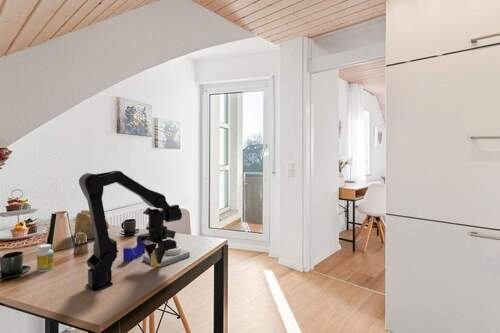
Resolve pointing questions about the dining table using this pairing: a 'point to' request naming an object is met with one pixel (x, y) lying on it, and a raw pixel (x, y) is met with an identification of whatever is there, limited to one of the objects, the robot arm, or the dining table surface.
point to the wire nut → (154, 260)
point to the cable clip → (133, 252)
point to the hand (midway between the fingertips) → (156, 262)
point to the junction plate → (170, 256)
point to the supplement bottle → (45, 258)
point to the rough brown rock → (85, 224)
